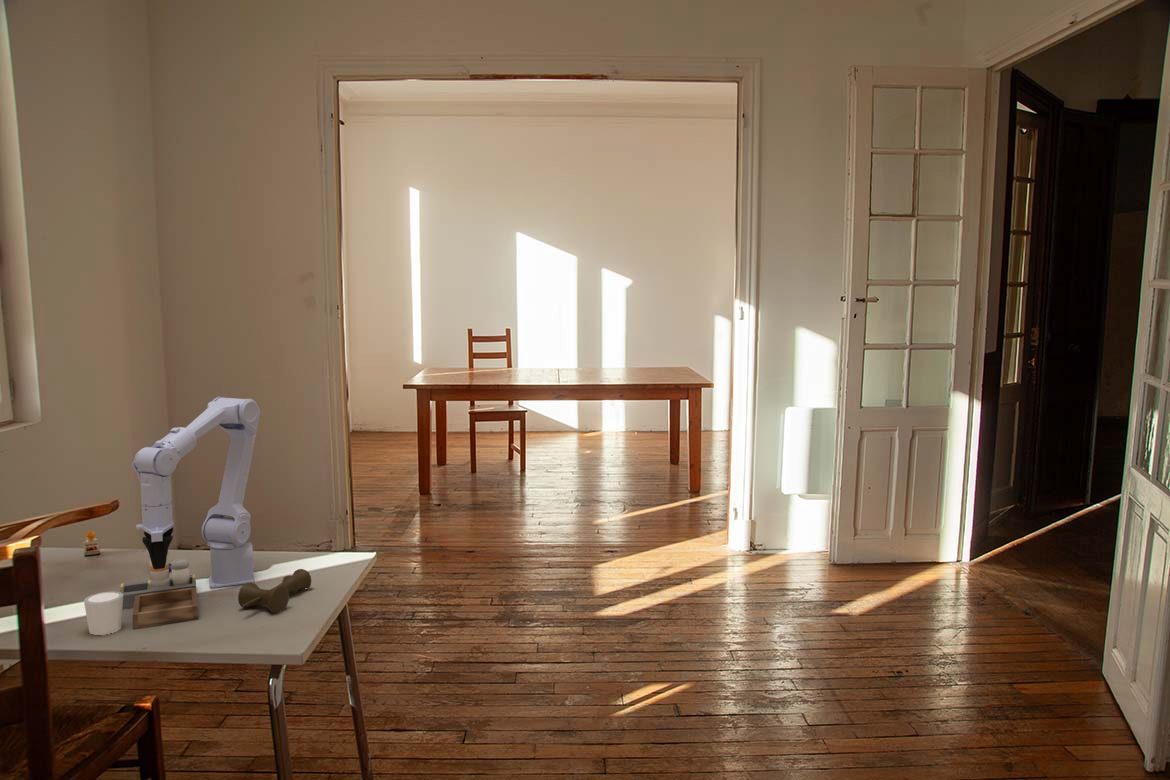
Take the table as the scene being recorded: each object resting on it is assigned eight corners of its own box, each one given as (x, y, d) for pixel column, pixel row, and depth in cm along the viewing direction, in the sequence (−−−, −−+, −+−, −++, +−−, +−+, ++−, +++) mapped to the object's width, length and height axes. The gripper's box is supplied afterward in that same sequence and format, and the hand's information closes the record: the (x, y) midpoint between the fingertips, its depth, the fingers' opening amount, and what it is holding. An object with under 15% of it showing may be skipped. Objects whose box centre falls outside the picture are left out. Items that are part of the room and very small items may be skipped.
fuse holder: (195, 586, 188) (195, 570, 187) (196, 598, 181) (195, 581, 180) (122, 596, 181) (121, 579, 180) (120, 609, 174) (119, 591, 173)
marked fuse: (169, 580, 174) (168, 544, 174) (169, 585, 171) (167, 549, 170) (150, 582, 173) (149, 546, 172) (149, 588, 170) (148, 551, 169)
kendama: (321, 593, 187) (261, 623, 168) (287, 588, 190) (224, 617, 171) (320, 568, 186) (260, 595, 167) (286, 564, 189) (223, 590, 171)
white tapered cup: (96, 639, 159) (95, 605, 158) (79, 631, 162) (77, 598, 161) (131, 628, 164) (130, 595, 164) (113, 620, 168) (112, 588, 167)
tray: (196, 599, 180) (196, 587, 179) (198, 619, 169) (197, 605, 169) (135, 608, 174) (134, 595, 174) (133, 629, 164) (132, 615, 163)
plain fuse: (190, 590, 185) (188, 557, 184) (190, 596, 182) (189, 562, 181) (172, 593, 184) (171, 559, 183) (172, 598, 180) (171, 564, 180)
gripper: (137, 497, 175) (139, 557, 176) (133, 513, 162) (136, 578, 163) (173, 494, 178) (175, 553, 179) (172, 510, 165) (175, 573, 166)
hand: (159, 565), depth 172 cm, fingers closed on marked fuse, 4 cm apart
